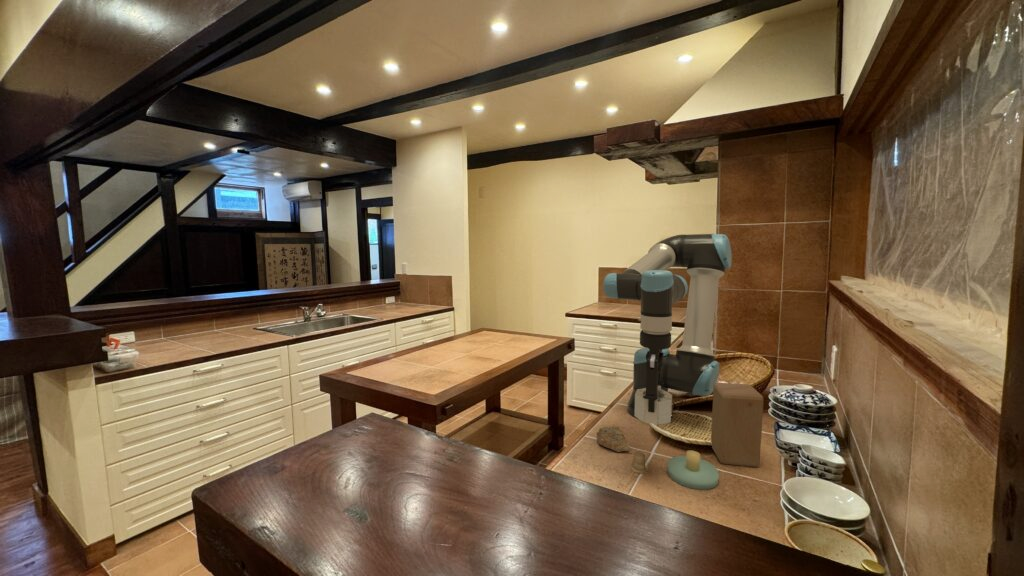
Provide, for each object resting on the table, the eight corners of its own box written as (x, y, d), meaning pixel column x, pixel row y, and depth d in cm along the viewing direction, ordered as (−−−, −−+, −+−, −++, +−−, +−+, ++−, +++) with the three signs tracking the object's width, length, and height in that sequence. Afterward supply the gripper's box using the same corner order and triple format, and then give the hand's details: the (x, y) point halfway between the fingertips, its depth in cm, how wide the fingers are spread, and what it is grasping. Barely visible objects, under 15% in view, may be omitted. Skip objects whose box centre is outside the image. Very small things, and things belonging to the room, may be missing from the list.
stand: (631, 462, 109) (632, 449, 108) (648, 466, 107) (648, 452, 107) (629, 471, 105) (630, 457, 104) (647, 475, 103) (647, 460, 103)
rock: (591, 440, 122) (604, 450, 112) (595, 420, 123) (608, 429, 113) (617, 444, 124) (632, 455, 114) (620, 425, 124) (636, 434, 114)
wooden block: (760, 468, 105) (765, 396, 103) (720, 465, 107) (723, 394, 105) (746, 449, 115) (750, 383, 113) (709, 446, 117) (712, 381, 115)
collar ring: (637, 407, 109) (638, 386, 109) (672, 412, 106) (672, 390, 105) (633, 420, 101) (633, 397, 101) (669, 426, 98) (670, 403, 97)
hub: (668, 459, 110) (668, 438, 110) (716, 468, 106) (717, 446, 105) (666, 483, 100) (667, 460, 99) (720, 494, 95) (721, 470, 94)
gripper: (645, 321, 112) (643, 398, 115) (634, 339, 93) (632, 430, 95) (673, 323, 109) (671, 402, 112) (668, 342, 89) (665, 436, 92)
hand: (653, 415), depth 103 cm, fingers closed on collar ring, 9 cm apart
